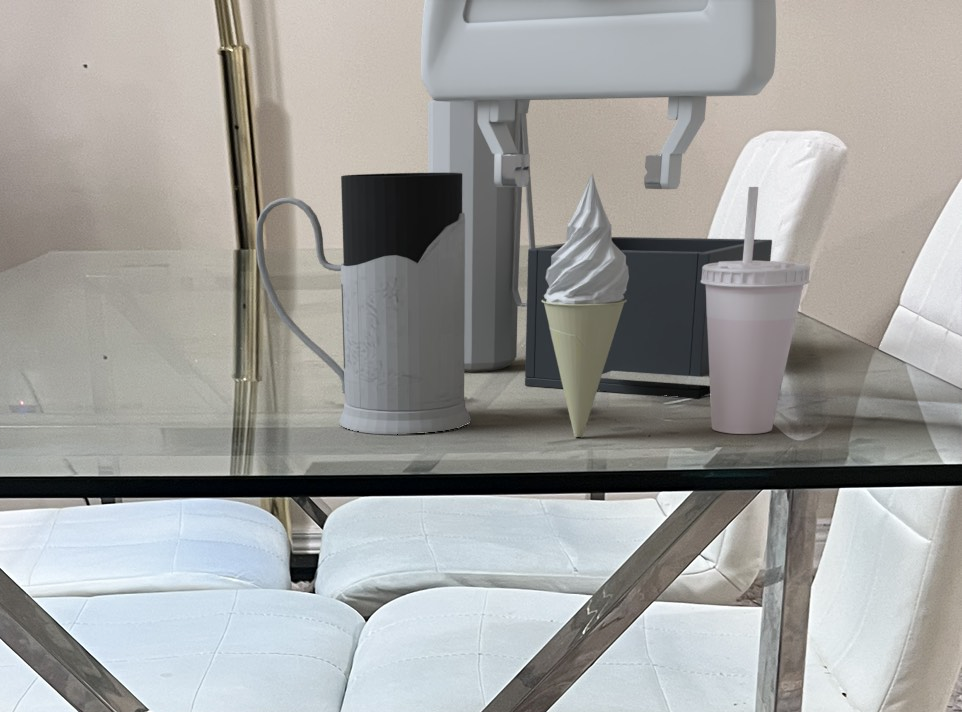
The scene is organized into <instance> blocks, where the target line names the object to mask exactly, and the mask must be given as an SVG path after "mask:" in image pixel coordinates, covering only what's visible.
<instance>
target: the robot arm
mask: <svg viewBox="0 0 962 712" xmlns="http://www.w3.org/2000/svg"><path fill="white" fill-rule="evenodd" d="M776 6H777V5H776V0H424V2H423V12H422V22H421V23H422V24H421V41H420V75H421V82H422V85H423V86H424V88H425V89H426V92H427V91H428V92H427V93H428V95H429V96H430V98H431V99H432V101H433V100H435V101H442V102H460V101H478V122H477V123H478V125H479V127H480V129H481V131H482V133H483V135H484V137H485V139H486V141H487V143H488V146H489V148H490V150H491V152H492V154H495V156H494V183H495V186H496V187H522V188H526V187H525V186H527V185H528V182H529V173H528V171H527V170H528V168H529V166H530V167H531V154H530V153H529V154H517V153H518V152H517V150H516V147H515V145H514V142H513V140H512V137H511V135H510V132H509V130H508V127H507V125H506V122H513V121H514V120H515V100H530V101H553V100H558V101H559V100H599V99H600V100H601V99H602V100H603V99H646V98H648V99H649V98H651V99H652V98H654V99H655V98H668V99H667V101H668V102H667V117H666V118H667V119H668V120H669V121H676V122H675V124H674V126H673V128H672V130H671V131H670V133H669V135H668V137H667V139H666V141H665V143H664V145H663V147H662V149H661V150H660V152H659V153H655V154H646V155H645V164H644V168H645V170H646V173H645V174H644V179H643V183H644V184H643V185H644V188H645V189H647V190H677V189H679V186H680V184H681V175H682V162H683V155H684V154H686V152H687V150H688V149H689V147H690V146H691V144H692V142H693V141H694V139H695V137H696V135H697V133H698V132H699V130H700V129H701V127H702V125H704V124H703V123H705V120H706V108H707V98H708V97H742V96H743V97H745V96H748V97H749V96H758V95H759V94H760V93H761V92H762V91H763V90H764V89H765V88H766V86H767V85H768V83H769V82H770V81H771V79H772V78H773V76H774V73H775V68H776V67H775V66H776V54H777V53H776V52H777V7H776Z"/></svg>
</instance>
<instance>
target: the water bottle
mask: <svg viewBox="0 0 962 712" xmlns="http://www.w3.org/2000/svg"><path fill="white" fill-rule="evenodd" d="M426 92H427V93H428V91H427V90H426ZM530 102H531V100H515V120H514V121H513V122H506V125H507V127H508V130H509V132H510V135H511V137H512V140H513V142H514V145H515V147H516V150H517V152H518V153H517V154H530V151H529V150H530V149H529V135H528V122H527V114H529V113H528V112H529V108H530ZM477 122H478V101H460V102H442V101H435V100H433V99H432V100H431V101H429V102H427V173H462V213H464V214H465V335H464V373H465V372H467V373H468V372H471V373H474V372H476V373H477V372H491V371H496V370H497V371H498V370H502V369H504V368H506V367H508V366H509V365H512V364H513V362H514V361H515V359H517V355H518V354H517V351H518V313H519V311H518V309H519V308H518V307H521V308H522V307H523V308H524V307H525V308H526V307H527V300H526V302H523V301H522V299H521V295H520V291H519V274H520V252H521V250H520V249H521V227H522V225H521V224H522V203H523V202H522V201H523V199H522V198H523V187H496V186H495V183H494V156H495V154H492V152H491V150H490V148H489V146H488V143H487V141H486V139H485V137H484V135H483V133H482V131H481V129H480V127H479V125H478V123H477ZM527 171H528V173H529V182H528V185H527V186H525V187H524V188H525V202H526V203H525V204H526V216H527V217H526V219H527V229H528V231H527V232H528V250H529V249H532V248H536V237H535V235H536V234H535V223H534V207H533V193H532V179H531V178H532V177H531V165H530V166H529V168H528V170H527Z"/></svg>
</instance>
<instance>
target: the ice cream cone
mask: <svg viewBox="0 0 962 712" xmlns="http://www.w3.org/2000/svg"><path fill="white" fill-rule="evenodd" d="M612 237H613V235H612V224H611V222H610V219H609V217H608V215H607V214H606V211H605V209H604V206H603V203H602V200H601V197H600V195H599V191H598V189H597V185H596V182H595V176H594V174H593V172H592V173H590V175H589V177H588V180H587V182H586V185H585V188H584V191H583V193H582V195H581V197H580V200H579V202H578V205H577V207H576V209H575V211H574V213H573V215H572V217H571V219H570V221H568V224H567V227H566V237H565V244H564V245H563V246H562V247H561V248H560V249H559V250H558V251H557V252H556V253H555V254H553V255H552V257H551V266H550V267H549V268H548V269H547V272H546V281H547V283H548V285H549V288H548V289H547V293H546V294H545V295H544V298H545V299H543V300H542V302H543V303H544V305H545V309H546V314H547V318H548V322H549V328H550V332H551V337H552V341H553V345H554V350H555V354H556V358H557V363H558V367H559V372H560V376H561V380H562V385H563V388H562V389H563V393H564V398H565V402H566V406H567V411H568V415H569V420H570V424H571V429H572V432H573V437H574V436H575V437H574V438H576V437H581V438H583V436H584V434H585V430H586V426H587V424H588V420H589V417H590V414H591V411H592V408H593V404H594V402H595V399H596V395H597V392H598V391H597V389H598V386H599V382H600V379H601V378H602V376H603V374H602V372H603V369H604V366H605V362H606V359H607V356H608V353H609V350H610V346H611V343H612V340H613V337H614V334H615V330H616V327H617V324H618V321H619V318H620V314H621V311H622V308H623V305H624V303H625V302H626V301H627V300H626V299H624V296H623V294H624V293H625V291H626V286H627V283H628V279H629V274H628V266H627V265H626V256H625V255H624V254H623V253H622V252H621V251H620V250H619V249H618V248H617V247H616V246H615V244H614V243H613V242H612Z"/></svg>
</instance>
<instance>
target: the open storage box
mask: <svg viewBox="0 0 962 712" xmlns="http://www.w3.org/2000/svg"><path fill="white" fill-rule="evenodd" d="M744 239H745V238H702V237H701V238H700V237H699V238H697V237H696V238H695V237H694V238H693V237H689V238H688V237H643V236H642V237H641V236H639V237H635V236H612V242H613V243H614V244H615V246H616V247H617V248H618V249H619V250H620V251H621V252H622V253H623V254H624V255H625V256H626V265H627V266H628V274H629V279H628V283H627V286H626V291H625V293H624V294H623V296H624V299H626V300H627V301H626V302H625V303H624V305H623V308H622V311H621V314H620V318H619V321H618V324H617V327H616V330H615V334H614V337H613V340H612V343H611V346H610V350H609V353H608V356H607V359H606V362H605V366H604V369H603V372H602V375H604V374H607V373H609V372H625V373H637V374H650V375H651V374H653V375H667V376H668V375H669V376H680V377H681V376H682V377H697V378H701V377H703V376H706V375H709V353H708V330H707V310H706V284H703V283H701V280H702V267H703V266H704V265H706V264H711V263H719V261H743V251H744ZM565 243H566V242H565ZM565 243H557V244H551V245H545V246H539V247H535V248H532V249H529V248H528V250H527V280H526V281H527V285H526V286H527V287H526V301H527V306H526V325H525V327H526V328H525V330H526V331H525V362H524V363H525V367H524V368H525V370H524V371H525V372H524V386H526V387H539V388H551V389H563V385H562V380H561V376H560V372H559V367H558V363H557V358H556V354H555V350H554V345H553V341H552V337H551V332H550V328H549V322H548V318H547V314H546V309H545V305H544V303H543V302H542V300H543V299H545V298H544V295H545V294H546V293H547V289H548V288H549V285H548V283H547V281H546V272H547V269H548V268H549V267H550V266H551V257H552V255H553V254H555V253H556V252H557V251H558V250H559V249H560V248H561V247H562V246H563V245H564V244H565ZM772 246H773V240H772V239H759V238H758V239H755V238H754V245H753V257H752V261H772V260H771V259H772V248H773V247H772ZM597 390H600V391H599V392H603V391H606V392H605V393H619V394H630V395H644V396H656V395H657V396H658V397H665V396H664V395H667V396H666V397H669V396H678V397H677V398H683V397H687V398H686V399H697V400H698V399H701V398H703V397H705V396H708V395H710V385H705V384H693V383H677V382H676V383H675V382H664V381H651V380H650V381H648V380H637V379H636V380H634V379H620V378H619V379H618V378H607V377H601V379H600V382H599V386H598V389H597ZM662 395H663V396H662Z"/></svg>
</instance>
